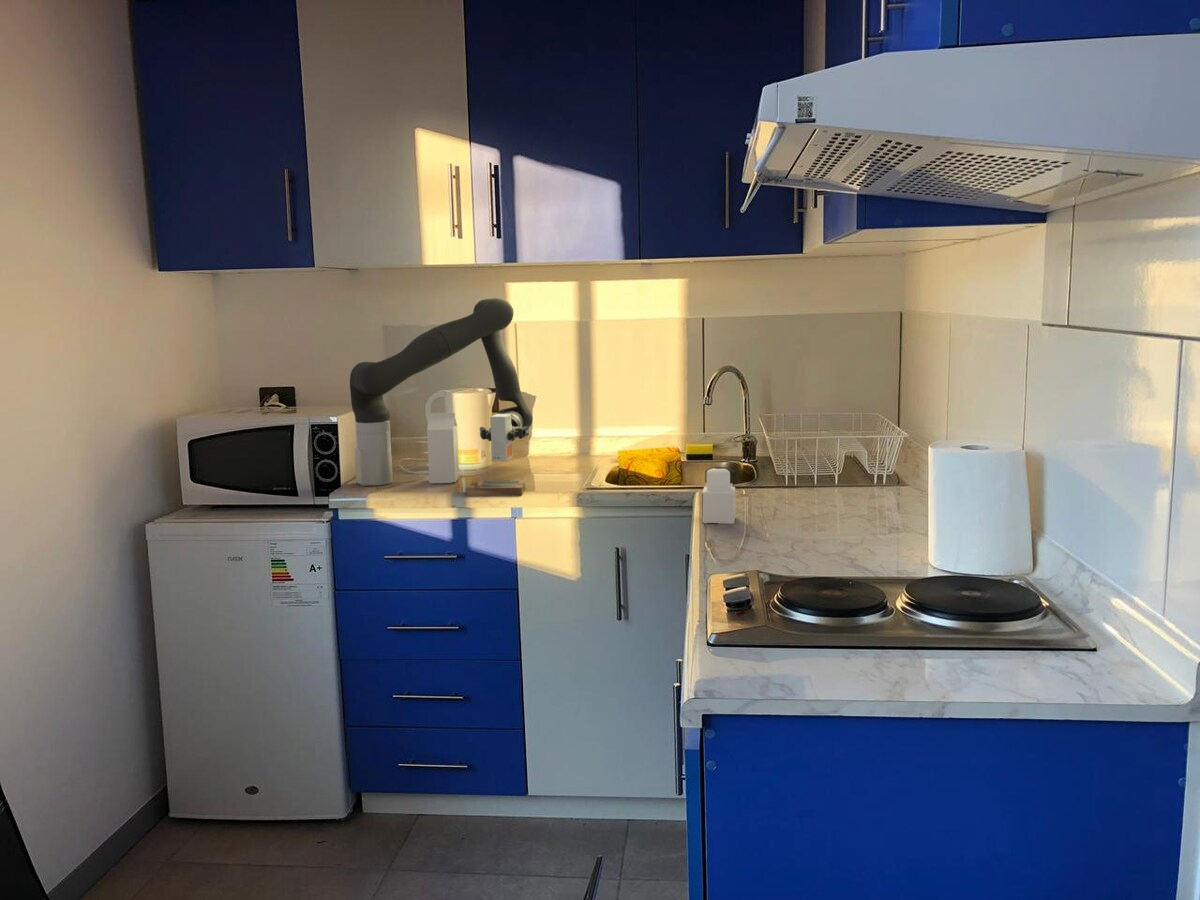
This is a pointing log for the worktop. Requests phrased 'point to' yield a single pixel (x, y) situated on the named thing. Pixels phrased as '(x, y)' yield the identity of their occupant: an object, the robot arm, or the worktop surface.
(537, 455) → the worktop surface
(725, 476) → the medicine bottle
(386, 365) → the robot arm
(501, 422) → the skincare box
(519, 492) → the stop dock
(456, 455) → the milk carton
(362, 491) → the worktop surface
